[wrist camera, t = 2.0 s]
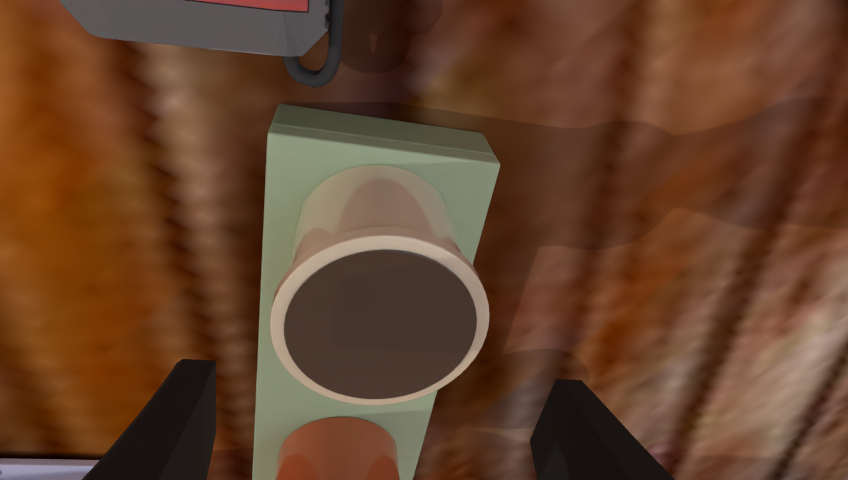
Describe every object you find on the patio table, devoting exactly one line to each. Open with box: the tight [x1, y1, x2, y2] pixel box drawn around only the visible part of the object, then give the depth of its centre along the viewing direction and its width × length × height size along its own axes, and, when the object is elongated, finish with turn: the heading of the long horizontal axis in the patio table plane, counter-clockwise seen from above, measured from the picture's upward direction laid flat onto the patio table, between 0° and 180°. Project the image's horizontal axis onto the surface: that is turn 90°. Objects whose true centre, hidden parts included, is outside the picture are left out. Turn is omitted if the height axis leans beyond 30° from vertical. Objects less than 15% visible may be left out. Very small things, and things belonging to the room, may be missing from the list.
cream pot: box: [270, 165, 490, 405], centre depth 15 cm, size 6×6×5 cm
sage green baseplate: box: [252, 104, 500, 480], centre depth 21 cm, size 7×17×3 cm, turn 169°
